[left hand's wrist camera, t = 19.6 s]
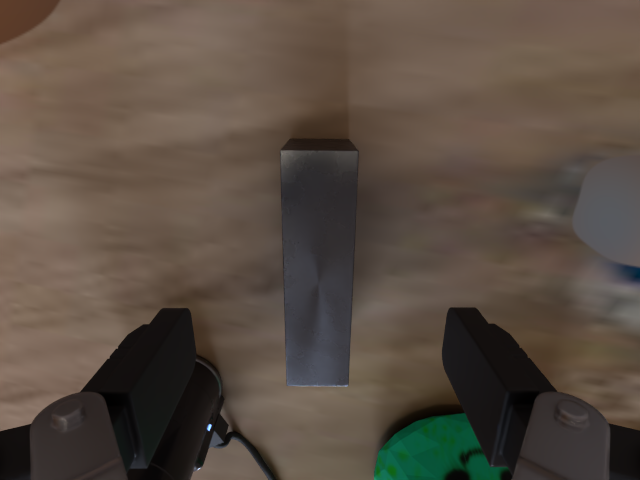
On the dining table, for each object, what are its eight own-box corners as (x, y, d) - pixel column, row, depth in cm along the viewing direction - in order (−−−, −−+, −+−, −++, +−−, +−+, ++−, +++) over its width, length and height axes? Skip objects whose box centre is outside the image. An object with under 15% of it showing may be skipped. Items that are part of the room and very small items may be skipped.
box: (289, 138, 36) (280, 149, 27) (349, 139, 36) (358, 150, 27) (293, 328, 44) (286, 386, 35) (342, 328, 44) (348, 386, 35)
